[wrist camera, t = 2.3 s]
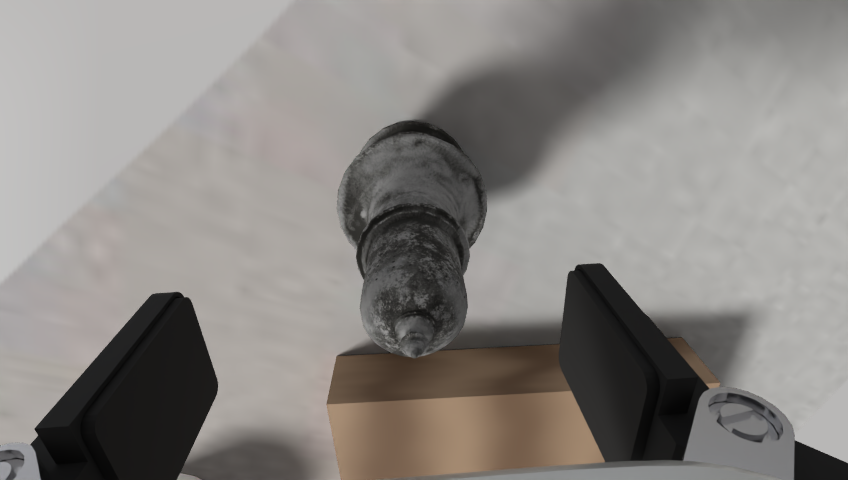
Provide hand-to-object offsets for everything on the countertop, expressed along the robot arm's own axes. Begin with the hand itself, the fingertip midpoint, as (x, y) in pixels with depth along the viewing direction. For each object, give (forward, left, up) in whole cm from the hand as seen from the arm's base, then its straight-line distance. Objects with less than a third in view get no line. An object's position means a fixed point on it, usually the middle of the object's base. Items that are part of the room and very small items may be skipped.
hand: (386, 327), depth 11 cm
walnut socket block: (-6, +20, -11) cm, 23 cm away
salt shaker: (-1, 0, -11) cm, 11 cm away
